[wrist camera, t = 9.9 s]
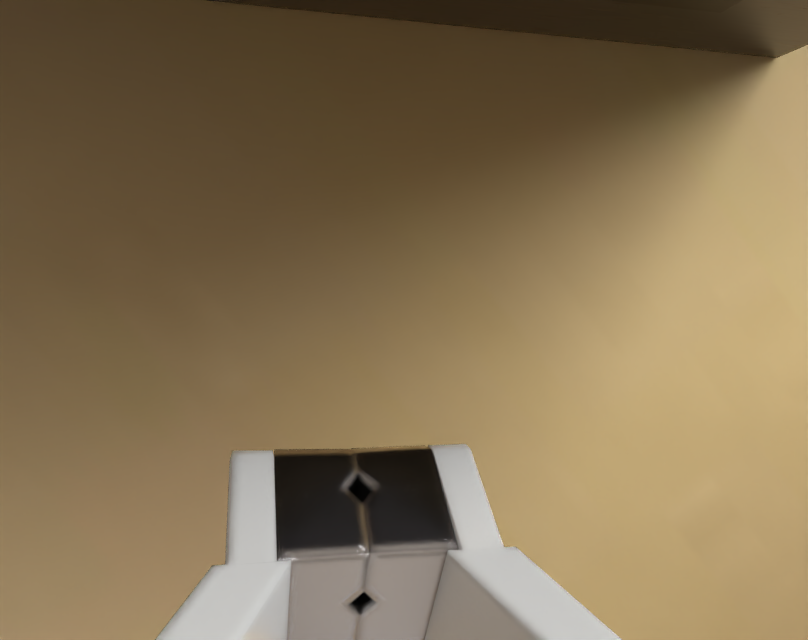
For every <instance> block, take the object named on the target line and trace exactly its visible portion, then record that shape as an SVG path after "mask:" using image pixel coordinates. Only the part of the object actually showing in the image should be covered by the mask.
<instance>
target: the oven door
mask: <svg viewBox="0 0 808 640" xmlns="http://www.w3.org/2000/svg"><path fill="white" fill-rule="evenodd" d="M209 1H219V2H229V3H239V4H249V5H259V6H269V7H279V8H289V9H299V10H309V11H319V12H329V13H339V14H349V15H359V16H369V17H379V18H389V19H399V20H409V21H419V22H429V23H439V24H449V25H459V26H469V27H479V28H489V29H498V30H508V31H518V32H528V33H538V34H548V35H558V36H568V37H578V38H588V39H598V40H608V41H618V42H628V43H638V44H648V45H658V46H668V47H678V48H688V49H698V50H708V51H718V52H728V53H738V54H748V55H758V56H768V57H780V56H782V55H784V54H787V53H789V52H791V51H794V50H796V49H798V48H801V47H803V46H805V45H808V0H209Z"/></svg>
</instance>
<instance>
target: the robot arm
mask: <svg viewBox="0 0 808 640" xmlns="http://www.w3.org/2000/svg"><path fill="white" fill-rule="evenodd" d="M155 640H622V639H621V638H620V637H618V636H617V635H616V634H615V633H614V632H613V631H612V630H610V629H609V628H608V627H607V626H606V625H605V624H604V623H602V622H601V621H600V620H599V619H598V618H597V617H596V616H594V615H593V614H592V613H591V612H590V611H589V610H588V609H586V608H585V607H584V606H583V605H582V604H581V603H580V602H578V601H577V600H576V599H575V598H574V597H573V596H572V595H570V594H569V593H568V592H567V591H566V590H565V589H564V588H562V587H561V586H560V585H559V584H558V583H557V582H556V581H554V580H553V579H552V578H551V577H550V576H549V575H547V574H546V573H545V572H544V571H543V570H542V569H541V568H539V567H538V566H537V565H536V564H535V563H534V562H533V561H531V560H530V559H529V558H528V557H527V556H526V555H525V554H523V553H522V552H521V551H520V550H519V549H518V548H517V547H504V545H503V542H502V539H501V536H500V533H499V530H498V528H497V525H496V522H495V519H494V516H493V513H492V510H491V507H490V504H489V501H488V498H487V495H486V492H485V489H484V486H483V484H482V481H481V478H480V475H479V472H478V469H477V466H476V463H475V460H474V457H473V454H472V451H471V449H470V448H469V447H468V446H467V445H466V444H449V445H429V446H425V445H421V446H397V447H372V448H351V449H276V450H274V454H273V450H236V451H232V453H231V457H230V466H229V489H228V512H227V536H226V559H225V564H224V565H213V566H211V568H210V569H209V570H208V572H207V573H206V574H205V575H204V577H203V578H202V579H201V581H200V582H199V583H198V584H197V586H196V587H195V588H194V590H193V591H192V592H191V594H190V595H189V596H188V597H187V599H186V600H185V601H184V603H183V604H182V605H181V606H180V608H179V609H178V610H177V612H176V613H175V614H174V616H173V617H172V618H171V619H170V621H169V622H168V623H167V625H166V626H165V627H164V628H163V630H162V631H161V632H160V634H159V635H158V636H157V638H156V639H155Z"/></svg>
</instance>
